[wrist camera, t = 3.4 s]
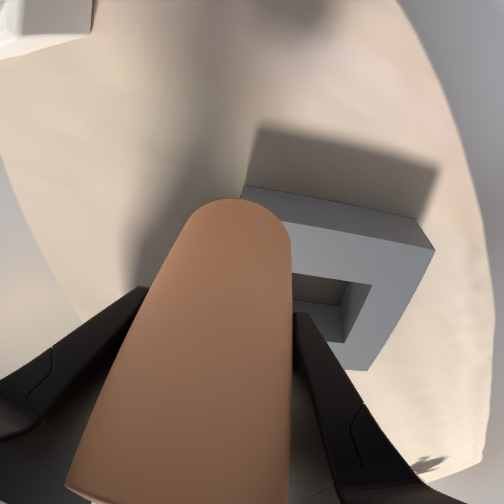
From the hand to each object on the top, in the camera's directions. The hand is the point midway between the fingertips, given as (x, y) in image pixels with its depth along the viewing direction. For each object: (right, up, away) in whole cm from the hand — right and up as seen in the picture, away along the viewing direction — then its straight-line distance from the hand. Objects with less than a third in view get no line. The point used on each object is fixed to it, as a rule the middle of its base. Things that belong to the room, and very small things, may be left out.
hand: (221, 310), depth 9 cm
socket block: (+6, 0, +14) cm, 15 cm away
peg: (0, +2, +3) cm, 3 cm away
